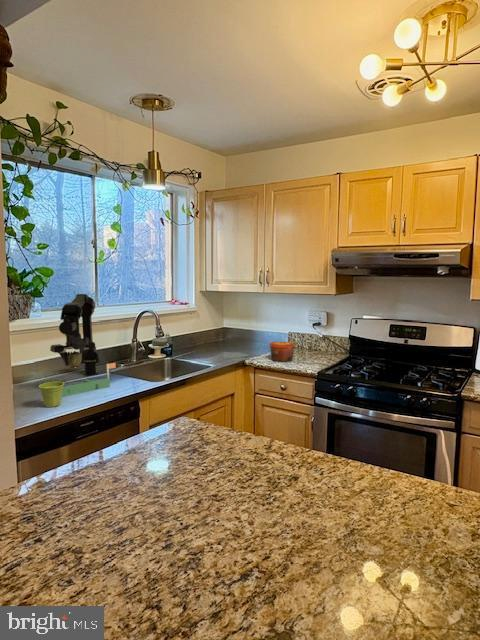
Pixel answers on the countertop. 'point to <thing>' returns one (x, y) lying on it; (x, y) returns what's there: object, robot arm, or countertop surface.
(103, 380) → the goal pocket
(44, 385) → the plant pot
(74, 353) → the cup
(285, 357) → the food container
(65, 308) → the robot arm
